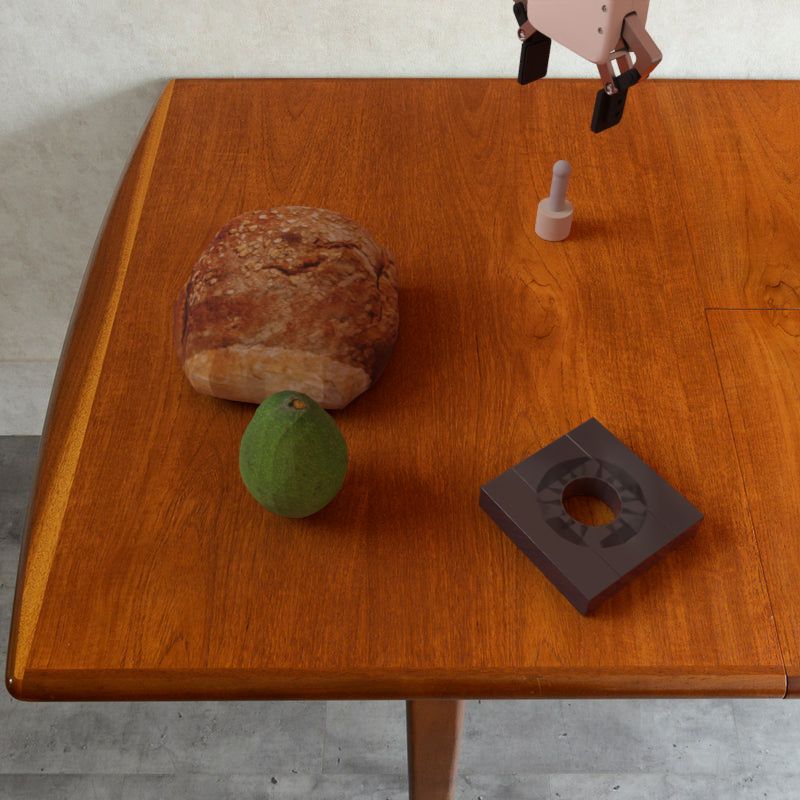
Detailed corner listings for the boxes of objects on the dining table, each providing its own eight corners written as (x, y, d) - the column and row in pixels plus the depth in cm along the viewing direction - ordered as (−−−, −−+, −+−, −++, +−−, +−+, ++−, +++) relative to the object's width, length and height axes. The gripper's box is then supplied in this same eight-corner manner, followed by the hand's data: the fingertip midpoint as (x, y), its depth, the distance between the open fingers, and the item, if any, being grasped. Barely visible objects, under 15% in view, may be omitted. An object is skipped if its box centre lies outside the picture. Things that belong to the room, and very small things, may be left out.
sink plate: (588, 435, 75) (593, 416, 73) (697, 533, 69) (705, 515, 67) (477, 505, 71) (480, 486, 69) (583, 617, 64) (589, 600, 62)
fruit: (293, 441, 75) (279, 340, 66) (369, 486, 72) (365, 387, 63) (228, 506, 71) (203, 408, 61) (305, 557, 68) (291, 462, 58)
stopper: (553, 215, 95) (564, 146, 88) (576, 233, 93) (589, 164, 86) (527, 228, 93) (537, 159, 87) (551, 246, 91) (562, 177, 85)
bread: (404, 283, 88) (404, 199, 80) (391, 427, 76) (390, 344, 68) (198, 274, 89) (179, 190, 81) (153, 415, 77) (126, 332, 69)
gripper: (721, -71, 66) (665, 133, 79) (560, -142, 75) (534, 52, 88) (650, -45, 63) (604, 162, 76) (491, -123, 72) (475, 75, 85)
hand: (567, 103), depth 82 cm, fingers open, 9 cm apart
